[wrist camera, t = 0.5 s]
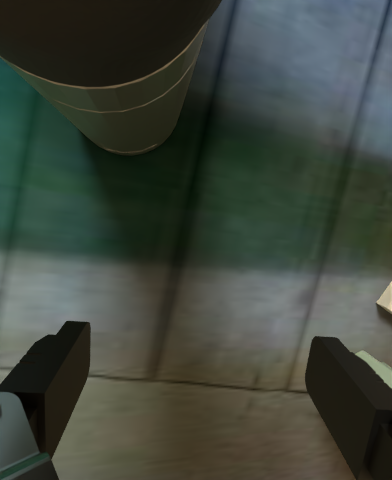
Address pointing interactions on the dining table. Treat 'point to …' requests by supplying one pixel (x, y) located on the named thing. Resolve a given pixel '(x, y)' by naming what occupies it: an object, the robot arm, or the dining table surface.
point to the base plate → (386, 299)
